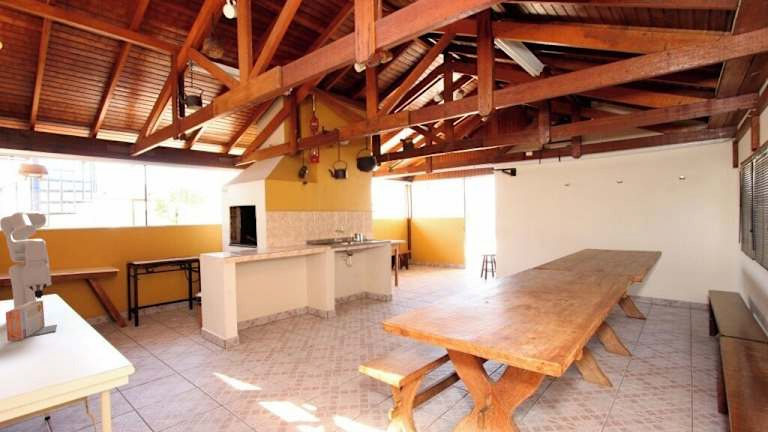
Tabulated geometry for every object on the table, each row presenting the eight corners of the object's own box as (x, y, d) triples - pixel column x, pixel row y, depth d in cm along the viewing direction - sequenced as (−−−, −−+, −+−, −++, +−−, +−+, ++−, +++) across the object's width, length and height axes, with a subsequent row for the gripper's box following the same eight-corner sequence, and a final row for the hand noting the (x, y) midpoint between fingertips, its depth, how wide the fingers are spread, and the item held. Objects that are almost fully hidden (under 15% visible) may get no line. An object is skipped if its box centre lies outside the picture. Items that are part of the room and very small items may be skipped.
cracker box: (29, 301, 192) (4, 312, 172) (43, 300, 194) (21, 310, 174) (30, 328, 192) (6, 341, 172) (45, 326, 194) (22, 339, 174)
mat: (25, 331, 189) (25, 330, 189) (56, 325, 197) (56, 324, 197) (22, 338, 178) (22, 337, 178) (55, 331, 186) (55, 330, 186)
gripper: (55, 260, 200) (58, 293, 201) (17, 264, 190) (20, 299, 191) (54, 262, 194) (57, 296, 195) (15, 266, 185) (18, 302, 185)
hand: (39, 297), depth 193 cm, fingers closed
